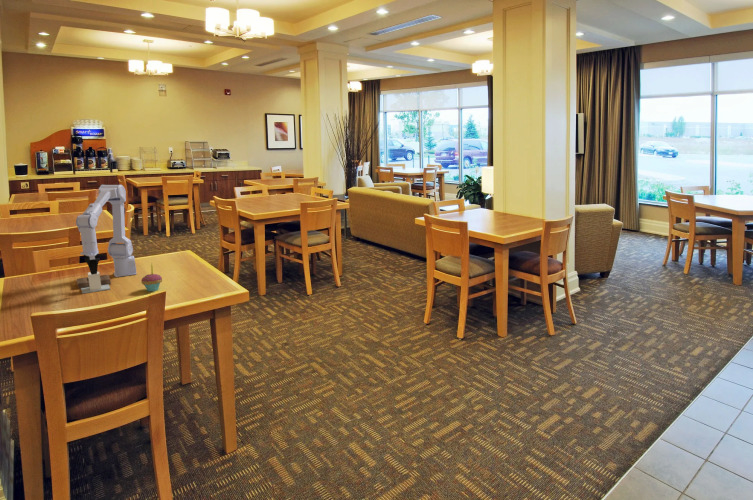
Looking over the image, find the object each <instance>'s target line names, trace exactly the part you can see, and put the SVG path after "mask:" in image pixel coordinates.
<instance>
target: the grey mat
mask: <svg viewBox="0 0 753 500" xmlns="http://www.w3.org/2000/svg"><path fill="white" fill-rule="evenodd" d="M101 288H102V289H97V290H90V287H87V288H81V289H80V290H81V294H90V293H96V292H103V291H110V290H111V287H110V285H109V284H107V285H101Z"/></svg>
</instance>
